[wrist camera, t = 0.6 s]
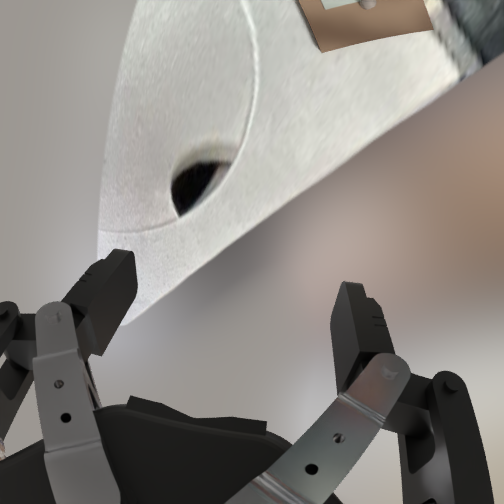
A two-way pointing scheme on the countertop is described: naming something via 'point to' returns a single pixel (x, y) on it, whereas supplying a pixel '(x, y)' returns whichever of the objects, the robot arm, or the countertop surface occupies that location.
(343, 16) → the cradle
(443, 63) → the countertop surface
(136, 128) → the countertop surface
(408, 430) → the robot arm
